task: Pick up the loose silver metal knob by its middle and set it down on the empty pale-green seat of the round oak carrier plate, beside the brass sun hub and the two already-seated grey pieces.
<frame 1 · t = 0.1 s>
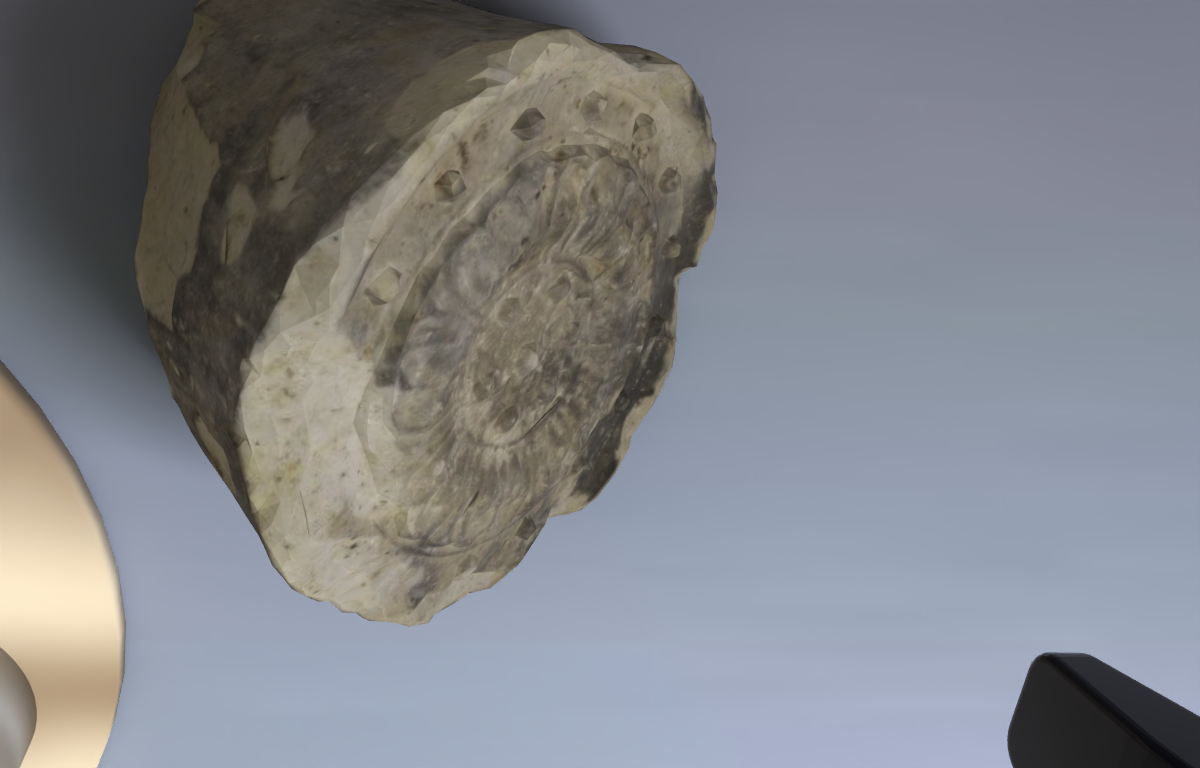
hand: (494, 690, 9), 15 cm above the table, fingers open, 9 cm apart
fossil: (451, 250, 23), on the table
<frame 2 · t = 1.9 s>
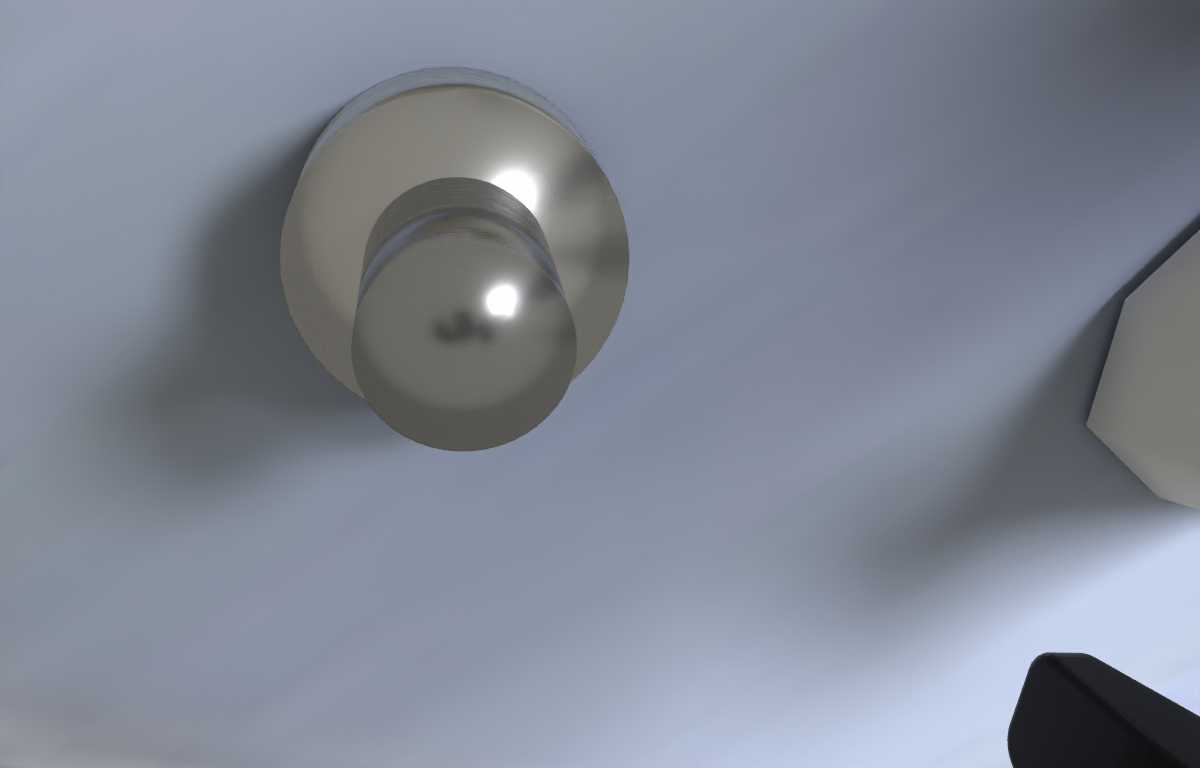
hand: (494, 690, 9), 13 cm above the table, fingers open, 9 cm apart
silver metal knob: (454, 224, 20), on the table
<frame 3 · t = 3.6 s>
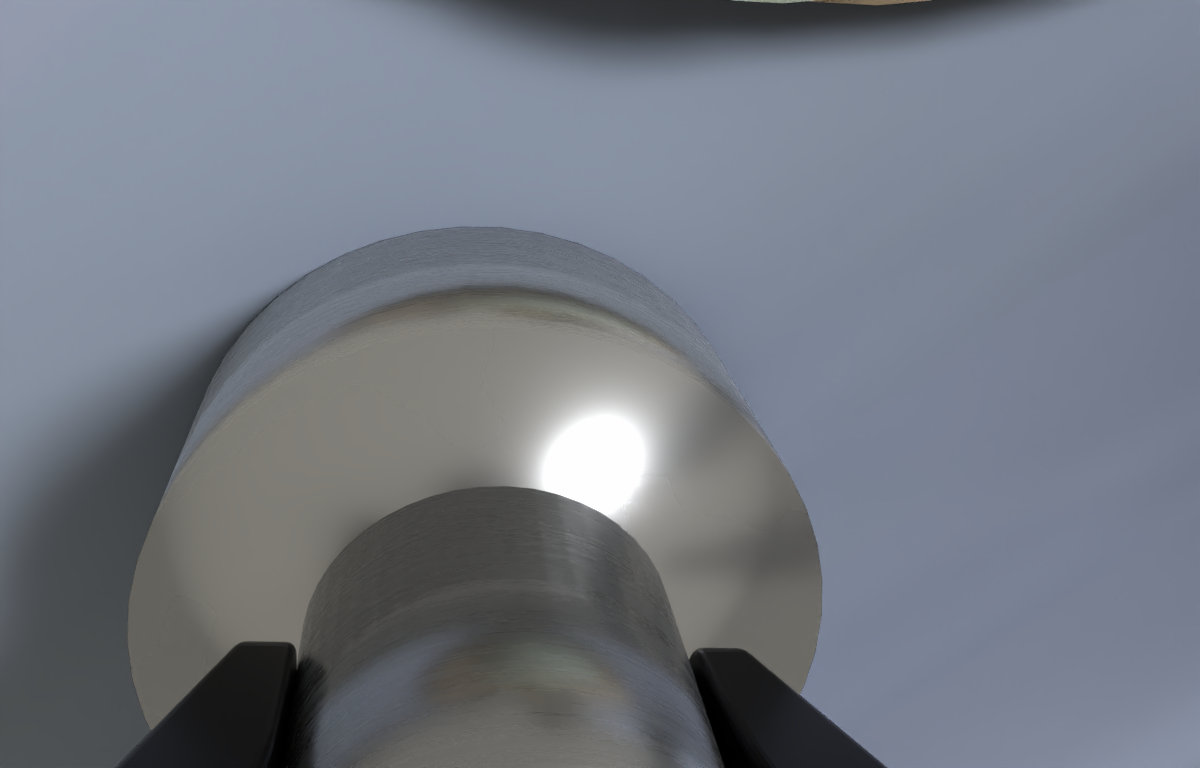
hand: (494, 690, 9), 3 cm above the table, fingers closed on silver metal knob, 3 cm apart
silver metal knob: (477, 493, 11), on the table, touching gripper
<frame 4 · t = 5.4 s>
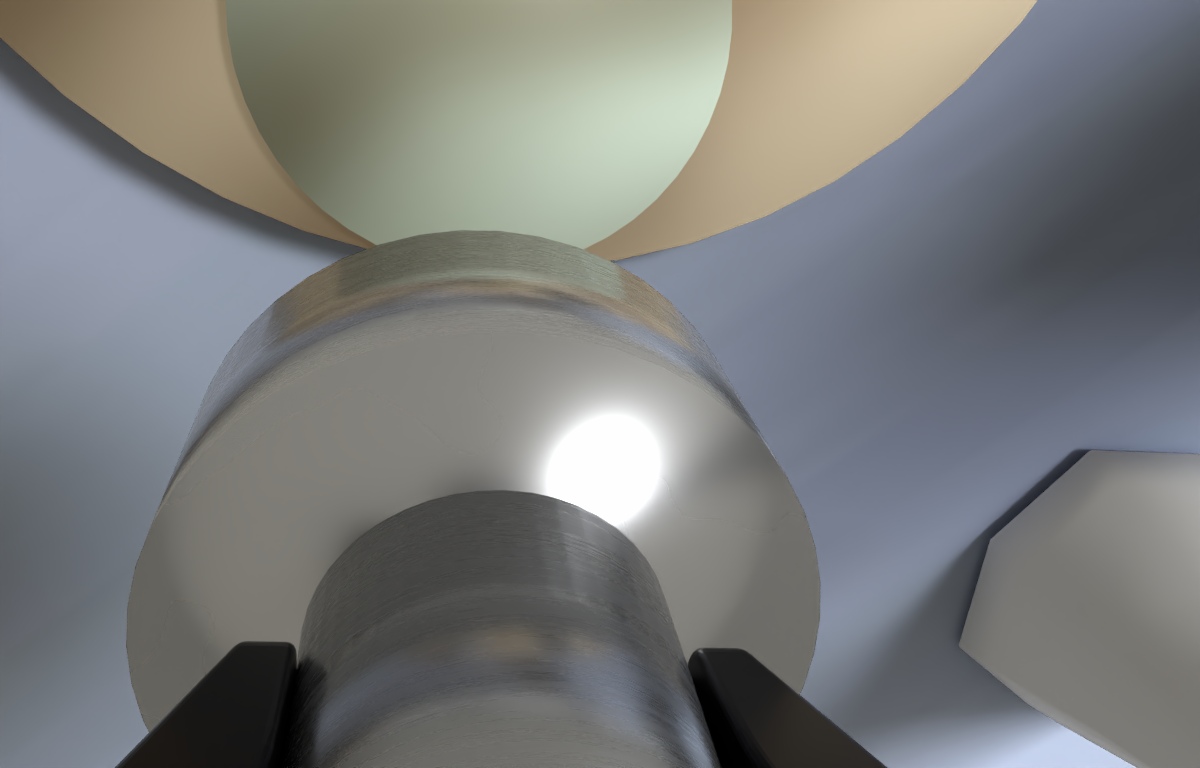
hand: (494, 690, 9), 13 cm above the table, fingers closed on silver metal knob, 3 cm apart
silver metal knob: (475, 495, 11), point 10 cm above the table, touching gripper
flask: (1102, 573, 26), on the table
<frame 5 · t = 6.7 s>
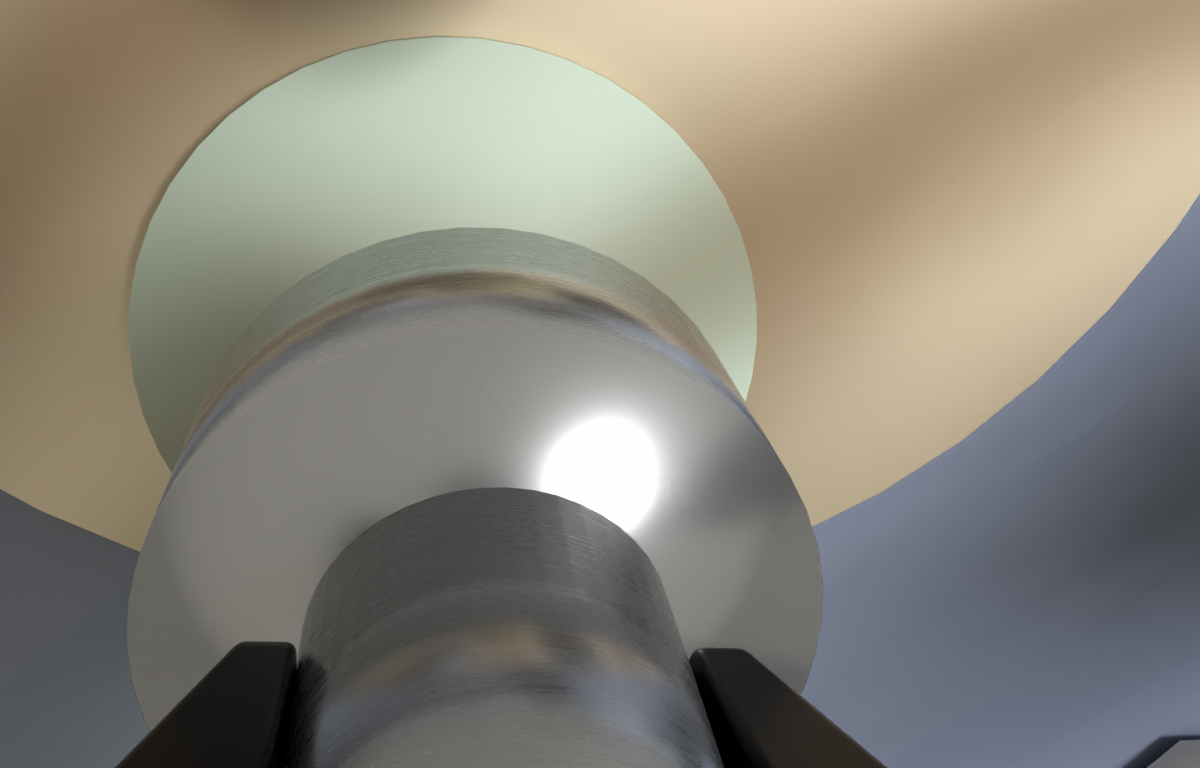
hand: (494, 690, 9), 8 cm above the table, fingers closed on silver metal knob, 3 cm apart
silver metal knob: (476, 493, 11), point 4 cm above the table, touching gripper
when the fingers open (5 cm above the table, at t = 7.4 s): silver metal knob stays where it is, resting on carrier plate.
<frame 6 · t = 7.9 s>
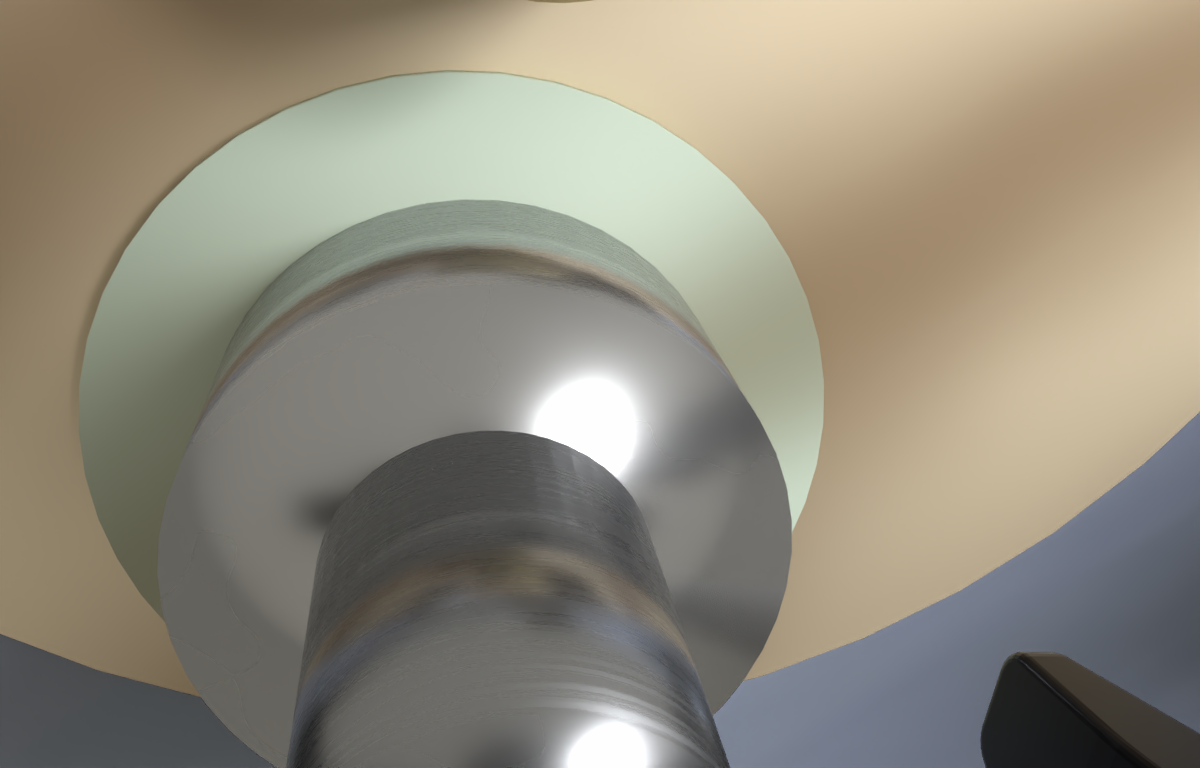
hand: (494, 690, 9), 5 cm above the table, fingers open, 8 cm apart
silver metal knob: (475, 449, 12), point 1 cm above the table, touching carrier plate
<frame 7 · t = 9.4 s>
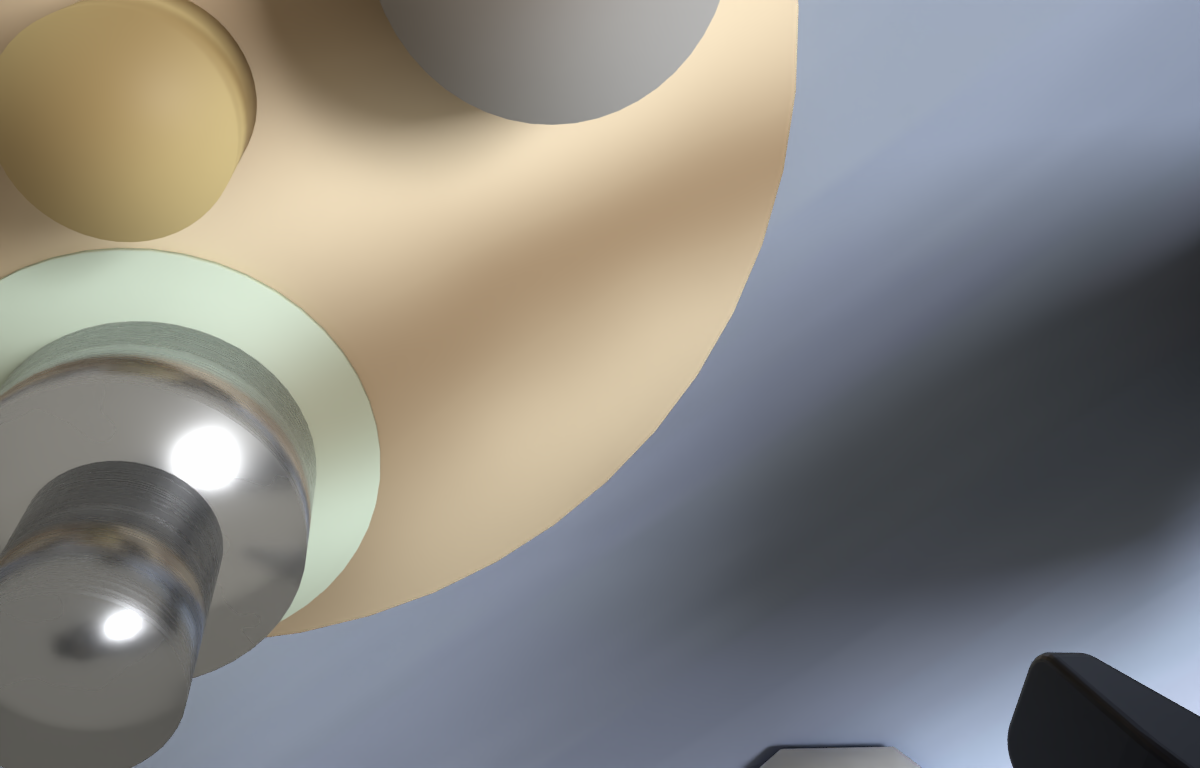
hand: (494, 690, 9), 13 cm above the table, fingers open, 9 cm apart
carrier plate: (159, 86, 18), on the table
silver metal knob: (154, 468, 20), point 1 cm above the table, touching carrier plate
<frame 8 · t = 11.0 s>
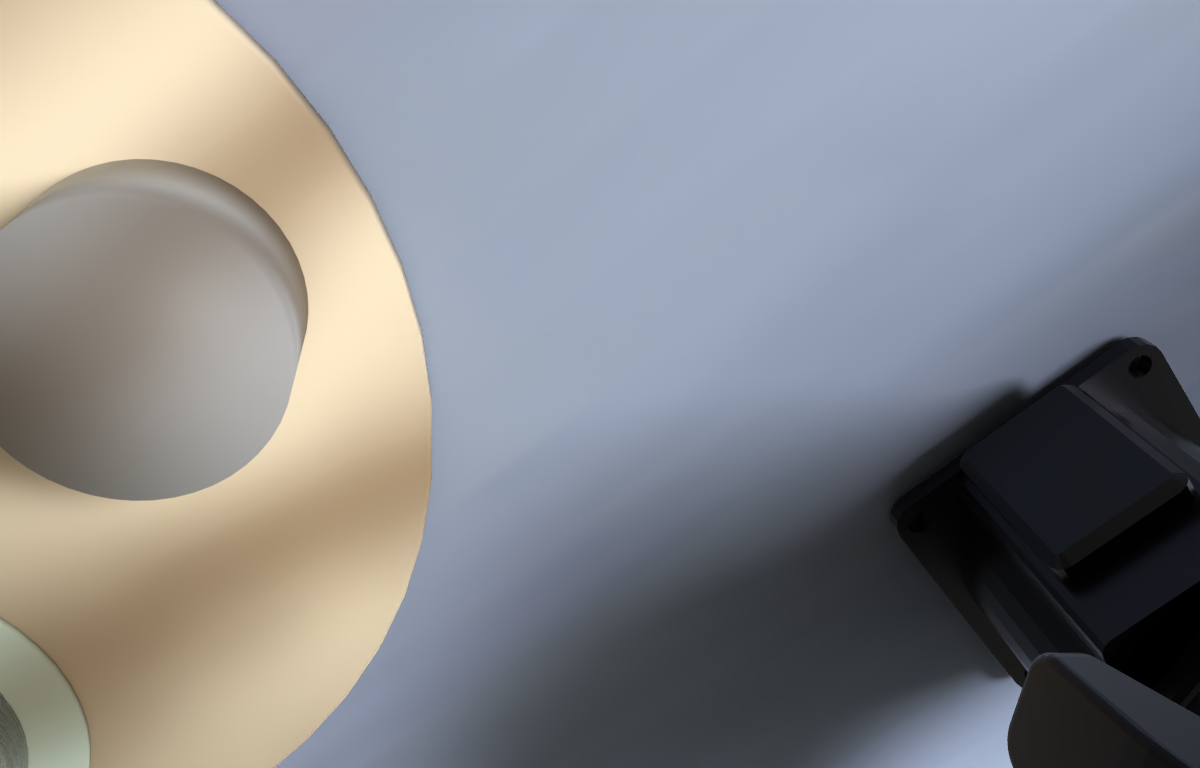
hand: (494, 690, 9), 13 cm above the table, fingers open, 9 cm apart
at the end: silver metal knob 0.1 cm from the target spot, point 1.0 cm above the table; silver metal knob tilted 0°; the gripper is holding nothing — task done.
